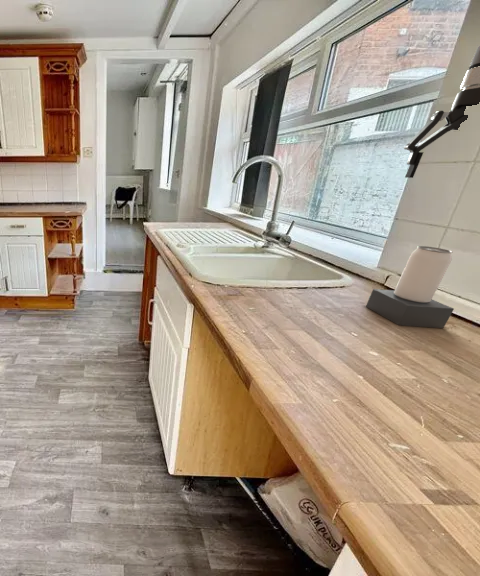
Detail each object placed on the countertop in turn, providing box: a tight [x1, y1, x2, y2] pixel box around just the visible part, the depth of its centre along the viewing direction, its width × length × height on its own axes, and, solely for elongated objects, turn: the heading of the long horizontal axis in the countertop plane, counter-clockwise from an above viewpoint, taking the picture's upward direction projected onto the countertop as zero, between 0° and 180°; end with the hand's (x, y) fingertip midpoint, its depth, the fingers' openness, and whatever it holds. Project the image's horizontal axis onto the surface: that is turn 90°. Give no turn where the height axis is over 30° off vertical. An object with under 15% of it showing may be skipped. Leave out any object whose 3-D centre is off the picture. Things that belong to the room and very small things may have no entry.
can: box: [394, 245, 453, 303], centre depth 71 cm, size 6×6×12 cm
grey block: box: [365, 288, 455, 329], centre depth 74 cm, size 10×10×5 cm
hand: (440, 179), depth 84 cm, fingers open, 13 cm apart
